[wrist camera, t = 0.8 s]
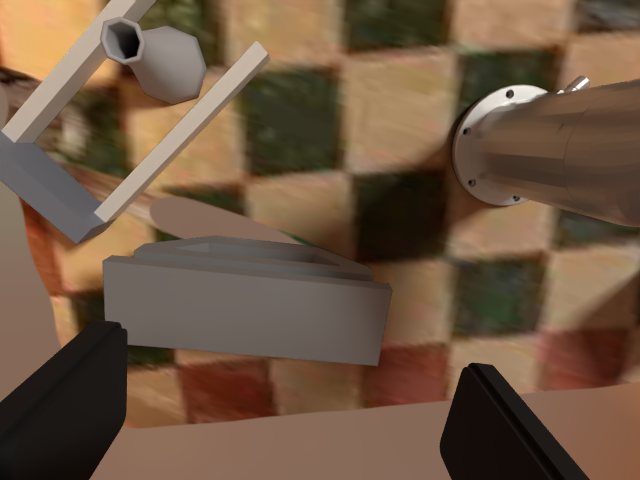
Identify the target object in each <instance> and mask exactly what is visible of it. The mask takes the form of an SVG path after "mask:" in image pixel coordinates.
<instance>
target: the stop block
mask: <svg viewBox="0 0 640 480" xmlns="http://www.w3.org/2000/svg"><path fill="white" fill-rule="evenodd" d="M0 181H2V182H3V183H4V184H5V185H6V186H8V187H9V188H10V189H11V190H12V191H13V192H15V193H16V194H17V195H18V196H19V197H21V198H22V199H23V200H24V201H25V202H27V203H28V204H29V205H30V206H31V207H33V208H34V209H35V210H36V211H37V212H38V213H40V214H41V215H42V216H43V217H44V218H46V219H47V220H48V221H49V222H50V223H52V224H53V225H54V226H55V227H56V228H57V229H59V230H60V231H61V232H62V233H63V234H65V235H66V236H67V237H68V238H69V239H71V240H72V241H73V242H74V243H75V244H78V243H81V242H83V241H85V240H87V239H89V238H91V237H94V236H96V235H98V234H100V233H102V232H104V231H105V230H106V229H107V228H108V227H109V226H110V225H111V224H112V223H113V222H114V221H115V220H116V219H117V218H115V219H113V220H111V221H108V222H106V223H105V222H104V221H103V220H102V219H101V218H100V217H98V216H97V215H96V214H95V213H94V212H95V211H96V210H97V208H98V207H99V206H100V205H101V204H102V203H101V202H100V201H98V200H97V199H96V198H95V197H94V196H93V195H92V194H91V193H89V192H88V191H87V190H86V189H85V188H84V187H83V186H82V185H80V184H79V183H78V182H77V181H76V180H75V179H74V178H73V177H71V176H70V175H69V174H68V173H67V172H66V171H65V170H64V169H62V168H61V167H60V166H59V165H58V164H57V163H56V162H55V161H53V160H52V159H51V158H50V157H49V156H48V155H47V154H46V153H45V152H43V151H42V150H41V149H40V148H39V147H38V146H37V145H36V144H34V143H14V142H13V141H12V140H11V139H10V138H8V137H7V136H6V135H5V134H4V133H3V132H2V131H0Z"/></svg>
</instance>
